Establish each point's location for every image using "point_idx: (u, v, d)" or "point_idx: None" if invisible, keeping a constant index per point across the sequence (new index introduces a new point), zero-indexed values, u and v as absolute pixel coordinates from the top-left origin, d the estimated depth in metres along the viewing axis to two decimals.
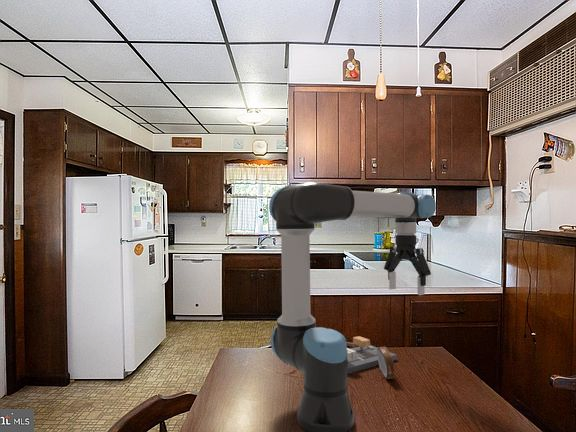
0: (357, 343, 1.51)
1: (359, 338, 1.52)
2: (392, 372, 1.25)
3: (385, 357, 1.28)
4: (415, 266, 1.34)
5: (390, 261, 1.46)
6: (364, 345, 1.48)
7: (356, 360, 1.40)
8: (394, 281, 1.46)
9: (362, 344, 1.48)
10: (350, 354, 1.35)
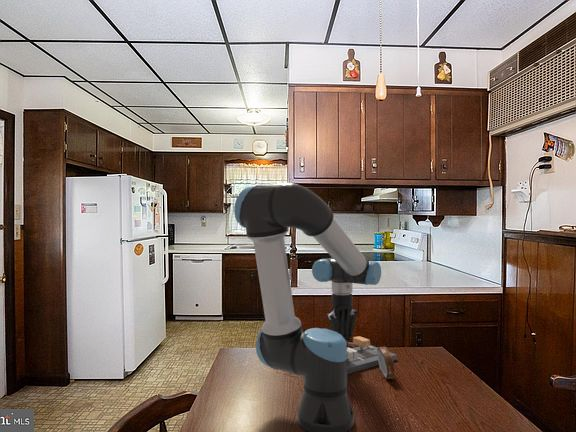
0: (357, 343, 1.51)
1: (359, 338, 1.52)
2: (392, 372, 1.25)
3: (385, 357, 1.28)
4: None
5: None
6: (364, 345, 1.48)
7: (356, 360, 1.40)
8: None
9: (362, 344, 1.48)
10: (352, 354, 1.35)
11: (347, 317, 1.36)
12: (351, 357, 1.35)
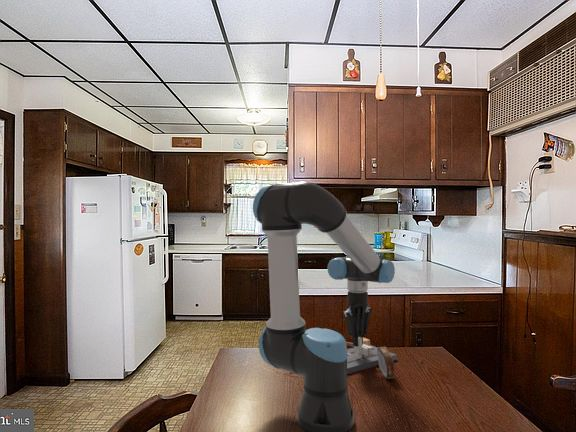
0: None
1: None
2: (392, 372, 1.25)
3: (385, 357, 1.28)
4: None
5: None
6: None
7: (356, 360, 1.40)
8: None
9: None
10: (367, 350, 1.39)
11: (362, 314, 1.40)
12: (366, 353, 1.39)
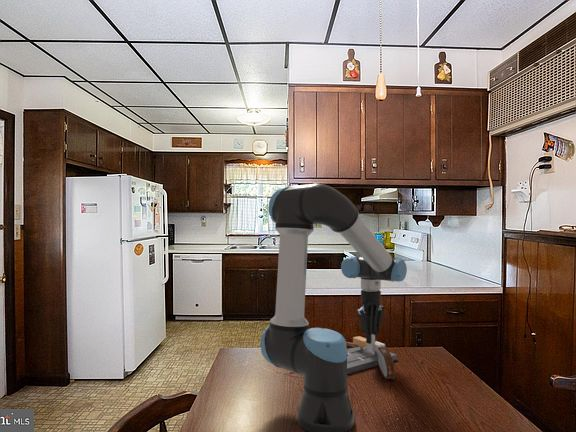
0: (357, 343, 1.51)
1: (359, 338, 1.52)
2: (392, 372, 1.25)
3: (385, 357, 1.28)
4: None
5: None
6: (364, 345, 1.48)
7: (356, 360, 1.40)
8: None
9: (362, 344, 1.48)
10: None
11: (375, 312, 1.44)
12: None
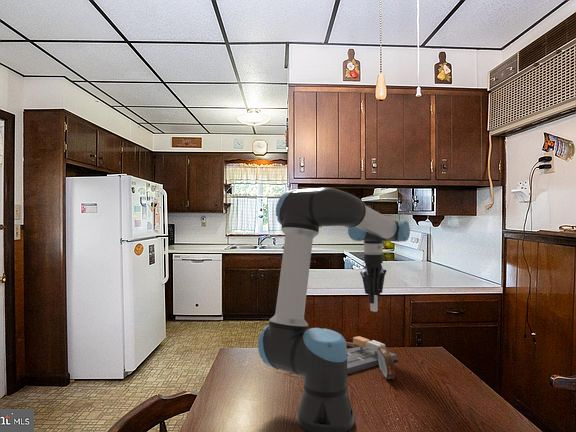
0: (357, 343, 1.51)
1: (359, 338, 1.52)
2: (392, 372, 1.25)
3: (385, 357, 1.28)
4: None
5: None
6: (364, 345, 1.48)
7: (356, 360, 1.40)
8: None
9: (362, 344, 1.48)
10: None
11: (378, 274, 1.54)
12: None
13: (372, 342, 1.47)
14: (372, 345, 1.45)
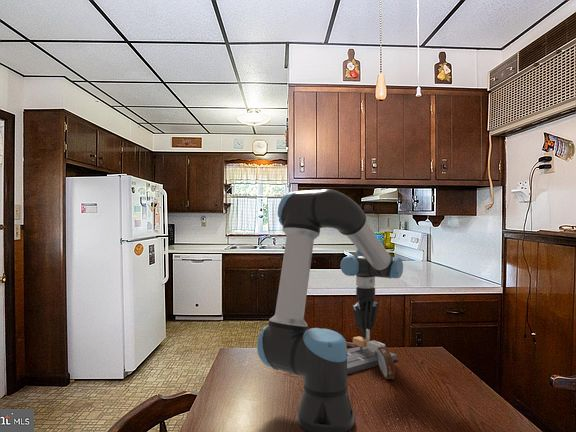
0: (357, 343, 1.51)
1: (359, 338, 1.51)
2: (392, 372, 1.25)
3: (385, 357, 1.28)
4: None
5: (371, 316, 1.55)
6: (364, 345, 1.48)
7: (356, 360, 1.40)
8: (367, 338, 1.52)
9: (362, 344, 1.48)
10: None
11: (370, 308, 1.52)
12: None
13: (372, 342, 1.47)
14: (372, 345, 1.45)
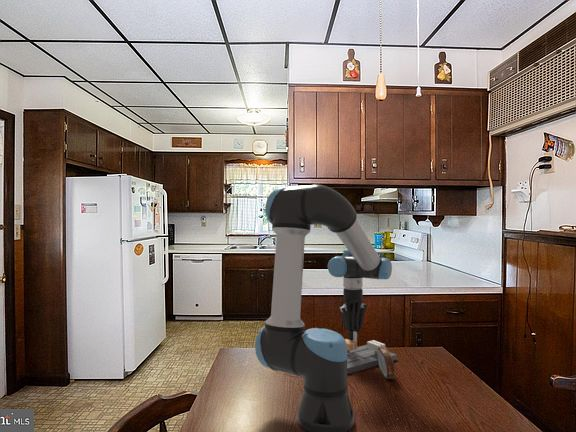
0: None
1: (346, 341, 1.48)
2: (392, 372, 1.25)
3: (385, 357, 1.28)
4: None
5: None
6: (351, 348, 1.44)
7: (356, 360, 1.40)
8: None
9: (349, 347, 1.45)
10: None
11: (357, 310, 1.48)
12: None
13: (372, 342, 1.47)
14: (372, 345, 1.45)
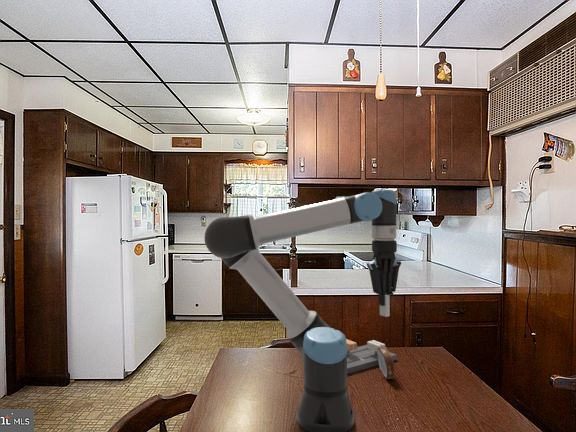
0: None
1: None
2: (392, 372, 1.25)
3: (385, 357, 1.28)
4: None
5: None
6: (351, 348, 1.44)
7: (356, 360, 1.40)
8: None
9: (349, 347, 1.44)
10: None
11: (390, 267, 1.17)
12: None
13: (372, 342, 1.47)
14: (372, 345, 1.45)
